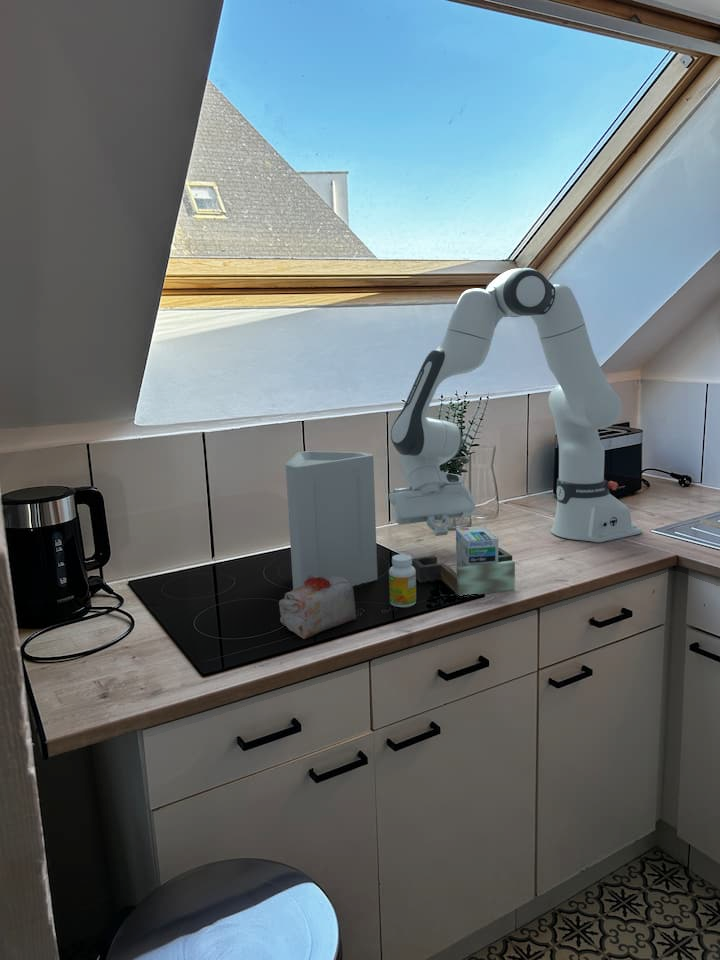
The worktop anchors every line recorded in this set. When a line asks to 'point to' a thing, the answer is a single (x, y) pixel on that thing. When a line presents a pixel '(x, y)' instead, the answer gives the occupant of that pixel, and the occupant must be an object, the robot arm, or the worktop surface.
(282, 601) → the food item
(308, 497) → the grey triangular bin
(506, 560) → the box
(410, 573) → the supplement bottle
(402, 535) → the worktop surface
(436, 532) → the robot arm
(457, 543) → the light bulb box
